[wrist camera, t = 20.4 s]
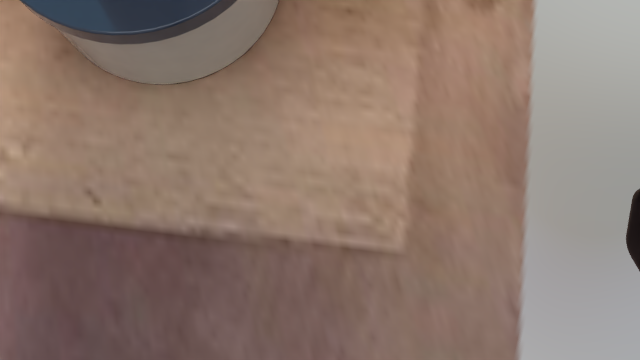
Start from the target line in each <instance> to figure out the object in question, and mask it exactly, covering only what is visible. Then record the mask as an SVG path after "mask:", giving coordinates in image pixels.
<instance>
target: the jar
mask: <svg viewBox="0 0 640 360" xmlns="http://www.w3.org/2000/svg"><path fill="white" fill-rule="evenodd" d="M20 1H21V2H22V3H23V4H24V5H25V6H26V7H27V8H28V9H29V10H30V11H31V12H32V13H34V14H35V15H36V16H38V17H39V18H41V19H42V20H43V21H45V22H46V23H48V24H50V25H51V26H53V27H55V28H57V29H58V30H59V31H60V32H61V33H62V34H63V35H64V36H65V37H66V38H67V39H68V40H69V42H70V43H71V44H72V45H73V46H74V47H75V48H76V49H77V50H79V51H80V52H81V53H82V54H83V55H84V56H85V57H86V58H87V59H88V60H90V61H91V62H92V63H94V64H95V65H96V66H98V67H99V68H101V69H103V70H105V71H107V72H109V73H111V74H113V75H116V76H118V77H121V78H124V79H126V80H131V81H135V82H140V83H148V84H175V83H181V82H188V81H192V80H195V79H199V78H202V77H205V76H207V75H210V74H212V73H215V72H217V71H219V70H221V69H222V68H224V67H226V66H228V65H229V64H231V63H232V62H234V61H235V60H236V59H238V58H239V57H241V56H242V55H243V54H244V53H245V52H246V51H247V50H248V49H249V48H250V47H252V46H253V45H254V44H255V42H256V41H257V40H258V39H259V37H260V36H261V35H262V34H263V32H264V31H265V29H266V28H267V26H268V24H269V23H270V21H271V19H272V17H273V15H274V12H275V10H276V8H277V5H278V1H279V0H20Z"/></svg>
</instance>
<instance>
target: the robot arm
mask: <svg viewBox="0 0 640 360" xmlns="http://www.w3.org/2000/svg"><path fill="white" fill-rule="evenodd" d="M626 243H627V248H628V251H629V253H630V255H631V257H632V259H633V260H634V262H635V264H636V266H637V267H638V269H639V271H640V189H639V190H637V191H636V192H635V194H634V195H633V199H632V204H631V211H630V216H629V222H628V229H627V235H626Z"/></svg>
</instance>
